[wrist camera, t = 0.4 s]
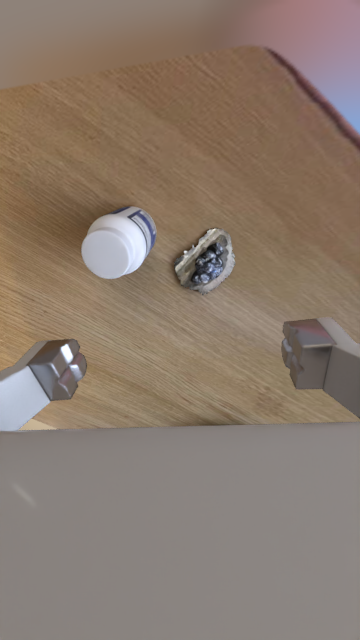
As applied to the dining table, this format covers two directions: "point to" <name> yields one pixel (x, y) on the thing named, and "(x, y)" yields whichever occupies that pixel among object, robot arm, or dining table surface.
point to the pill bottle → (118, 242)
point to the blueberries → (206, 262)
